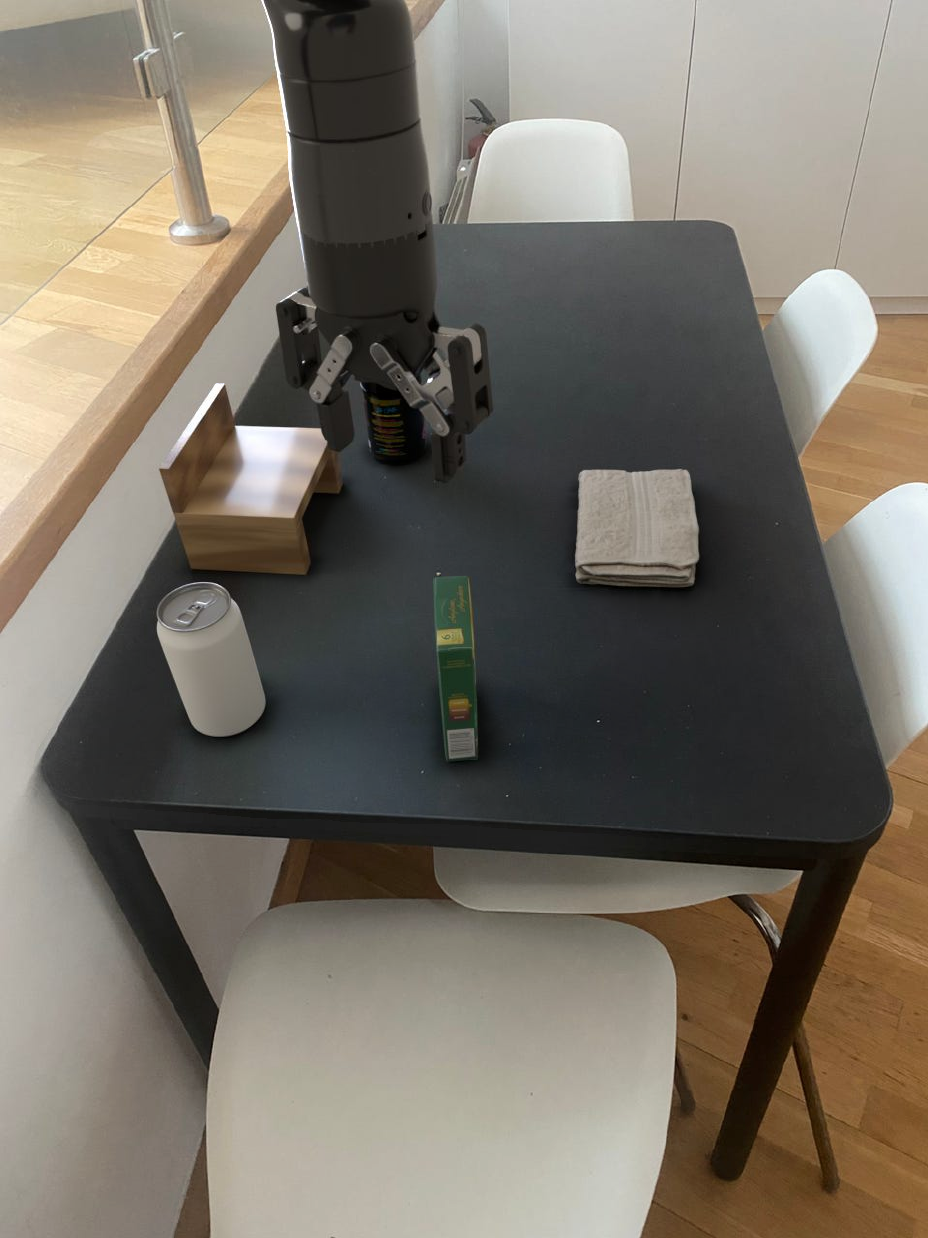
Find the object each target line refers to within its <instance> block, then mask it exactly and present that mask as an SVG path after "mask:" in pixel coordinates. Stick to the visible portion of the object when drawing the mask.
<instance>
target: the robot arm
mask: <svg viewBox="0 0 928 1238" xmlns="http://www.w3.org/2000/svg"><path fill="white" fill-rule="evenodd" d="M261 2H262V5H263V7H264V9H265V10H264V11H265V13H266V16H267V19H268V23H269V27H270V31H271V36H272V43H273V54H274V61H275V68H276V73H277V80H278V86H279V91H280V92H279V93H280V99H281V104H282V110H283V117H284V121H285V127H286V137H287V151H288V153H287V154H288V155H287V156H288V172H289V182H290V189H291V194H292V201H293V207H294V213H295V218H296V219H295V220H296V225H297V231H298V236H299V243H300V249H301V254H302V260H303V267H304V273H305V278H306V284H307V287H301V288H300V289H298V290H296V291H294V292H293V293H291V294H290V295H289V296H287V297H285V298H284V299H282V300H280V301H279V302H277V303H276V305H275V313H276V320H277V326H278V333H279V340H280V347H281V353H282V360H283V366H284V367H283V368H284V373H285V379H286V382H287V384H288V385H289V386H290V387H291V388H293V389H295V390H298V389H300V388H302V389H304V390H306V391H307V392H309V396H310V398H311V400H312V401H313V402H315V403H316V409H317V415H318V421H319V425H320V428H321V432H322V435H323V437H324V439H325V440H326V441H327V444H328V448H329V449H330V450H333V451H337V452H338V453H340V452H342V451H343V450H344V449H345V448H347V447H348V446H349V445H350V444H351V443H353V442H354V439H355V427H354V420H353V414H352V407H351V400H350V395H349V391H348V390H345V389H343V387H345V386H346V385H347V382H348V381H349V380H350V379H351V377H352V376H353V377H354V381H355V382H356V381H357V382H359V383H360V382H364V383H368V382H375V383H377V384H379V385H381V386H383V387H385V388H388V389H392V390H397V389H398V390H399V391H400V392H401V394H402V395H403V397H404V398H405V400H406V401H407V403H408V404H409V405H410V406H411V407H412V408H417V409H419V410H420V411H421V413H422V414H423V416H424V419H425V420H426V421H427V423H428V424H429V426H430V428H431V429H432V432H431V433H430V443H431V456H432V467H433V477H434V481H436V482H439V483H442V484H448V483H449V482H450V481H451V480H452V479H453V478H454V477H455V476H456V475H458V473H459V472H460V471H461V470H462V469H463V468H464V467H465V465H466V462H467V449H466V435H471V434H473V432H475V431H476V430H477V429H478V427H479V426H480V425H481V424H482V423H483V422H484V421H485V420H486V419H488V418H489V417H490V416H491V415H492V414H493V412H494V404H493V394H492V393H493V392H492V391H493V390H492V382H491V372H490V371H491V370H490V360H489V350H488V339H487V331H486V329H485V328H484V327H483V326H482V325H481V324H479V323H476V322H475V323H472V324H470V325H469V326H468V327H466V328H465V329H461V328H454V327H446V326H443V325H442V323H441V321H440V319H439V317H438V314H437V311H436V309H435V308H436V307H435V301H436V294H437V287H438V276H437V261H436V248H435V235H434V234H435V233H434V219H433V207H432V206H433V199H432V198H433V197H432V194H431V193H432V192H431V181H430V180H431V178H430V167H429V159H428V154H427V148H426V144H425V139H424V134H423V127H422V119H421V105H420V92H419V91H420V90H419V79H418V63H417V59H416V58H417V53H416V52H417V51H416V41H415V35H414V28H413V21H412V18H411V13H410V10H409V7H408V5H407V3H406V0H261ZM319 332H320V333H321V335H322V336H323V337H324V339H325V340H326V342H327V343H328V346H329V347H330V350H329V351H328V353H327V354H326V356H325V357H324V359H322V352H321V351H322V350H321V341H320V333H319ZM438 350H439V351H440V353H441V354H442V356H443V359H444V360H443V359H442V358H441V356H440V355H439V353H438ZM423 370H424V371H425V372H426V375H427V377H428V379H427V382H425V384H423V385H422V386H421V385H420V384H419V383H418V381H417V380H416V379H415V378H416V377H418V376H419V375H420V373H421V374H422V372H423ZM437 399H438V400H439V401H438V400H437ZM439 402H440V403H441V405H440V403H439ZM442 406H443V407H442ZM443 408H444V409H443Z"/></svg>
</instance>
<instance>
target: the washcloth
mask: <svg viewBox="0 0 928 1238" xmlns="http://www.w3.org/2000/svg"><path fill="white" fill-rule="evenodd" d="M577 480H578V482H579V484H578V491H577V493H578V509H577V512H576V513H577V524H576V528H577V533H576V538H575V539H576V542H575V545H576V546H575V547H576V549H575V553H574V558H575V560H574V562H575V563H574V564H575V569H576V572H575V578H576V582H577V584H580V585H584V584H585V585H586V584H587V585H598V584H599V585H606V586H617V587H653V588H655V587H657V588H685V587H692V586H694V584H695V581H696V577H695V575H696V564H697V563H698V562H699V560H700V553H699V532H700V527H699V523H698V519H697V513H696V505H695V504H696V502H695V497H694V495H693V489H692V480H691V474H690V472H689V471H688V469H682V468H678V469H654V470H650V471H649V470H646V471H632V472H628V471H627V470H623V469H622V470H621V469H583V470H582V471H580V472H579V474H578V478H577Z"/></svg>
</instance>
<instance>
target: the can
mask: <svg viewBox="0 0 928 1238" xmlns="http://www.w3.org/2000/svg"><path fill="white" fill-rule="evenodd" d="M156 618H157V623H156V632H157V637H158V641H159V643H160V646H161V648H162V651H163V654H164V657H165V659H166V662H167V664H168V667H169V669H170V672H171V675H172V678H173V680H174V683H175V686H176V688H177V691H178V693H179V696H180V699H181V701H182V703H183V706H184V709H185V711H186V714H187V717H188V719H189V721H190V723H191V725H192V726H193V728H194V729H195V730H196V731H197V732H200V733H201V734H203V735H205V736H210V737H215V738H226V737H232V736H235V735H236V736H237V735H238V734H241V733H243V732H245V731H246V730H248V729H250V728H251V727H252V726H253V725H255V724H256V722H257V721H259V719H260V718H261V717H262V715H263V714H264V711H265V707H266V695H265V692H264V687H263V684H262V680H261V677H260V673H259V669H258V666H257V663H256V660H255V656H254V653H253V652H254V651H253V649H252V646H251V642H250V639H249V636H248V632H247V629H246V626H245V621H244V618H243V615H242V612H241V609H240V607H239V606H238V604H237V603H236V601H235V600H233V598H232V597H231V594H230V592H229V591H228V590H227V589H226V588H225V587H223V586H221V585H219V584H217V583H214V582H206V581H205V582H204V581H201V582H200V581H199V582H193V583H188V584H185V585H182V586H179V587H177V588H175V589H174V590H172V591H171V592H169V593H167V594H166V595H165V596H164V597H163V598H162V600H160V602H159V604H158V605H157V609H156Z"/></svg>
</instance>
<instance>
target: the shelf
mask: <svg viewBox="0 0 928 1238" xmlns="http://www.w3.org/2000/svg"><path fill="white" fill-rule="evenodd" d="M340 463H341V462H340V457H339V452H337V451H333V450H330V449H329V448H328V444H327V441H326V440H325V439H324V437H323V435H322V432H321V427H319V428H317V427H289V426H288V427H286V426H284V427H283V426H251V425H236V422H235V419H234V414H233V411H232V406H231V403H230V399H229V394H228V391H227V386H226V383H215V384H214V386H213V387H212V389H211V390H210V392H209V393H208V395H207V396H206V398H205V399H204V401H202V403H201V405H200V406H199V408H198V410H196V412H195V414H194V416H193V417H192V418H191V420H190V421H189V423H188V425H187V426H186V427H185V429H184V430H183V432H182V434H181V435H180V436H179V438H178V439H177V441H176V442H175V443H174V445H173V447H172V448H171V450H170V451H169V453H168V454H167V456H166V457H165V459H164V460H163V462H162V463H161V465H160V466H159V468H158V471H159V475H160V478H161V480H162V483H163V486H164V489H165V492H166V495H167V498H168V501H169V505H170V508H171V511H172V513H173V517H174V520H175V523H176V525H177V530H178V532H179V535H180V538H181V542H182V545H183V547H184V550H185V554H186V557H187V560H188V563H189V566H190V569H191V570H202V571H203V570H205V571H224V572H241V573H243V572H245V573H261V574H262V573H263V574H264V573H265V574H279V575H280V574H282V575H300V576H302V575H303V576H306V575H307V573H308V571H309V568H310V566H311V564H312V561H311V556H310V551H309V547H308V542H307V541H308V540H307V537H306V533H305V528H304V521H303V516H304V514H305V512H306V509H307V507H308V505H309V503H310V501H311V499H312V496H313V494H314V493H316V494H317V493H321V494H322V493H323V494H340V493H341V489H342V487H343V484H344V482H343V481H344V480H343V475H342V469H341V464H340Z"/></svg>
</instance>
